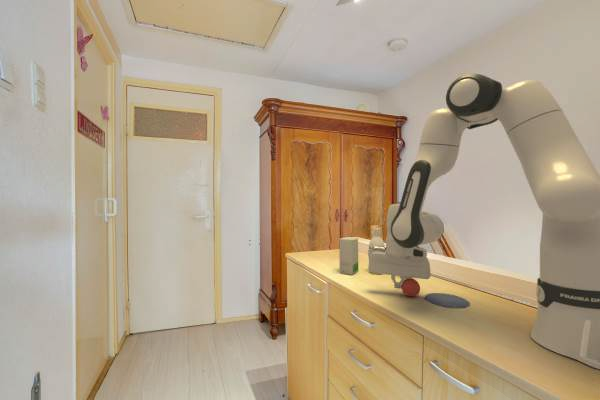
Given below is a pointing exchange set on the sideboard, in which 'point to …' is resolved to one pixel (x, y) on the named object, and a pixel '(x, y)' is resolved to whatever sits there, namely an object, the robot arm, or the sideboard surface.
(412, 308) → the sideboard surface
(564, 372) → the sideboard surface
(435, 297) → the dark gray round plate
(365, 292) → the sideboard surface
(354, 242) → the skincare box
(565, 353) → the robot arm
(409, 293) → the ball
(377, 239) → the bath foam
